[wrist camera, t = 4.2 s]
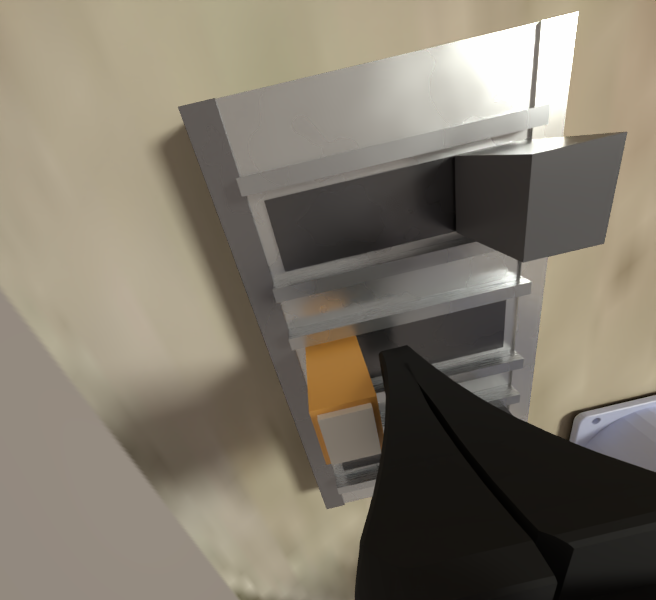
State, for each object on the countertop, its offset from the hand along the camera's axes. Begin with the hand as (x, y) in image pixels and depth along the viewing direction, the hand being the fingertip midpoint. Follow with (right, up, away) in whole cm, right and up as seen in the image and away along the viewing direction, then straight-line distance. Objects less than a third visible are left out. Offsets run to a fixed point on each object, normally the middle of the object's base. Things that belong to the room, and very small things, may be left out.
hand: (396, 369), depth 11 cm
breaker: (+3, +6, -1) cm, 7 cm away
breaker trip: (-2, 0, +1) cm, 2 cm away
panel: (+1, +1, +3) cm, 3 cm away
